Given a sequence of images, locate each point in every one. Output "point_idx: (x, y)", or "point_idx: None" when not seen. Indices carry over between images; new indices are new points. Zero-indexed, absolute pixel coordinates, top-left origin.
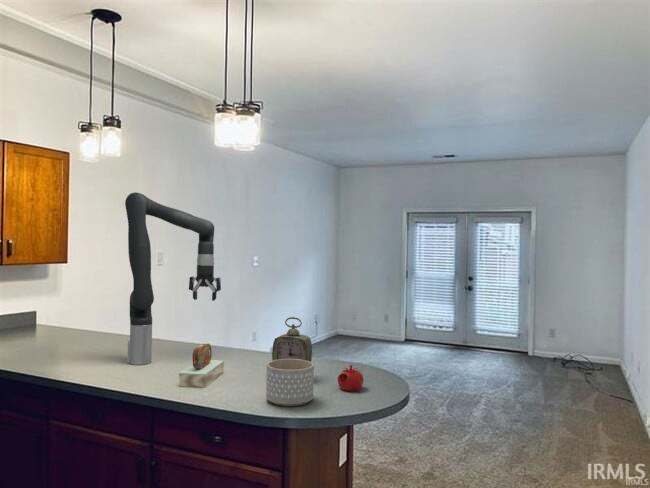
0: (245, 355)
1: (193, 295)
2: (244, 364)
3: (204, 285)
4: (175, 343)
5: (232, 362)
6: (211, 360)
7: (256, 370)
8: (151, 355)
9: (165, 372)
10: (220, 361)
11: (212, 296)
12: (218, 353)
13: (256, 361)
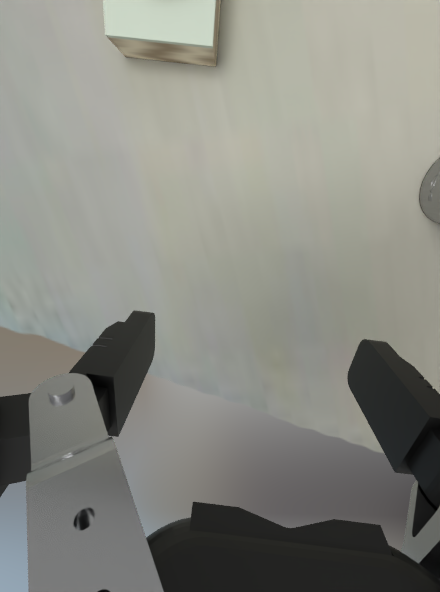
0: None
1: (420, 383)
2: (97, 201)
3: (280, 557)
4: (362, 428)
5: (144, 225)
6: (158, 30)
7: (26, 115)
8: (435, 196)
9: (349, 26)
10: (112, 12)
11: (131, 335)
12: (219, 333)
13: (76, 246)
